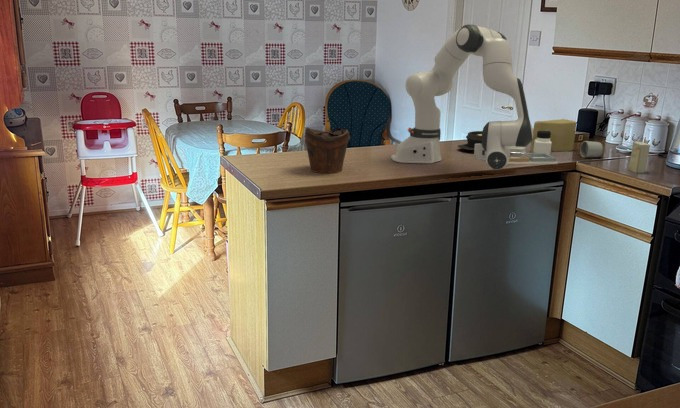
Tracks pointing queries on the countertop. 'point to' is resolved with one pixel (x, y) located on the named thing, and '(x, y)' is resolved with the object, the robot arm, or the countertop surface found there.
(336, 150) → the wooden bucket
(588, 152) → the ceramic mug
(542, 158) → the seat plate
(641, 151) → the skincare box
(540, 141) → the medicine bottle
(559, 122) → the cheese
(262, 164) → the countertop surface
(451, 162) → the countertop surface
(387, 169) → the countertop surface
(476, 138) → the casserole
